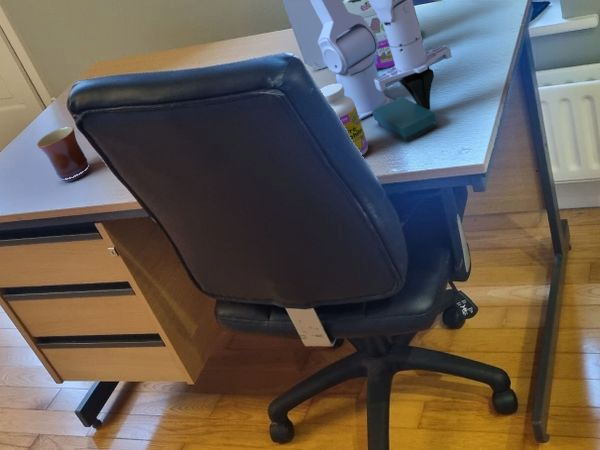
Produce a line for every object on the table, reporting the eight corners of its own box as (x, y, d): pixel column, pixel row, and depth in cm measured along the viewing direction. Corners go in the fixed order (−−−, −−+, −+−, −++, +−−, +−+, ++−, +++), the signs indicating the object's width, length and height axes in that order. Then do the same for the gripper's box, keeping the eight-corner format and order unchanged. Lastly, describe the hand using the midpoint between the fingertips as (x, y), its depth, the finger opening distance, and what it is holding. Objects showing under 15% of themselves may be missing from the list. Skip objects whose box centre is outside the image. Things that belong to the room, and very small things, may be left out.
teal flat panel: (376, 125, 145) (371, 111, 144) (405, 110, 146) (401, 96, 145) (407, 144, 135) (402, 128, 133) (439, 127, 136) (434, 112, 134)
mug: (101, 167, 176) (79, 127, 171) (69, 188, 172) (46, 148, 167) (77, 161, 185) (56, 123, 180) (46, 181, 181) (24, 143, 176)
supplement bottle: (345, 167, 135) (322, 102, 129) (327, 158, 141) (304, 95, 134) (376, 149, 137) (354, 84, 131) (357, 141, 142) (335, 77, 136)
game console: (422, 40, 174) (398, -47, 165) (308, 73, 182) (279, -8, 172) (421, 31, 179) (398, -53, 169) (310, 64, 186) (282, -16, 177)
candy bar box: (415, 53, 169) (395, -20, 161) (413, 62, 165) (392, -12, 157) (367, 64, 173) (344, -6, 165) (363, 74, 169) (340, 2, 161)
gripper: (379, 61, 129) (400, 132, 136) (452, 26, 132) (470, 97, 138) (361, 54, 135) (382, 122, 142) (431, 20, 138) (449, 88, 144)
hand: (424, 109), depth 141 cm, fingers closed
